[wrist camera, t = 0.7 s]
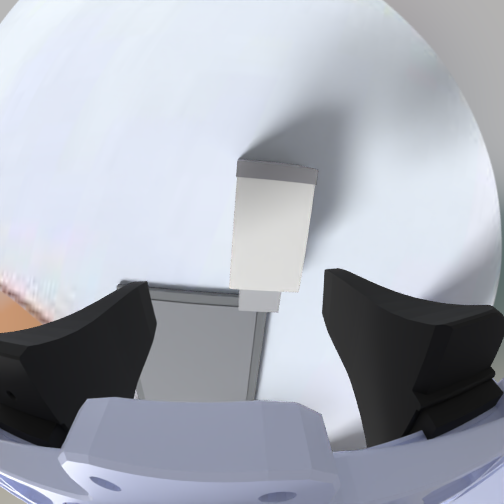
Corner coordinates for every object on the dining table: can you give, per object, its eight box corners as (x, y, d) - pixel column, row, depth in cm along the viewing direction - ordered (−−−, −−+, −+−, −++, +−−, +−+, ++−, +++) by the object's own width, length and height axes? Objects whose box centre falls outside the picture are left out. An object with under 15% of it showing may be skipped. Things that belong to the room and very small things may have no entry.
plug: (298, 164, 19) (318, 169, 14) (282, 289, 22) (293, 327, 17) (238, 158, 18) (237, 161, 14) (228, 286, 21) (226, 324, 17)
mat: (267, 295, 22) (268, 299, 21) (251, 414, 27) (251, 418, 26) (118, 284, 21) (116, 287, 20) (142, 403, 26) (140, 407, 25)
